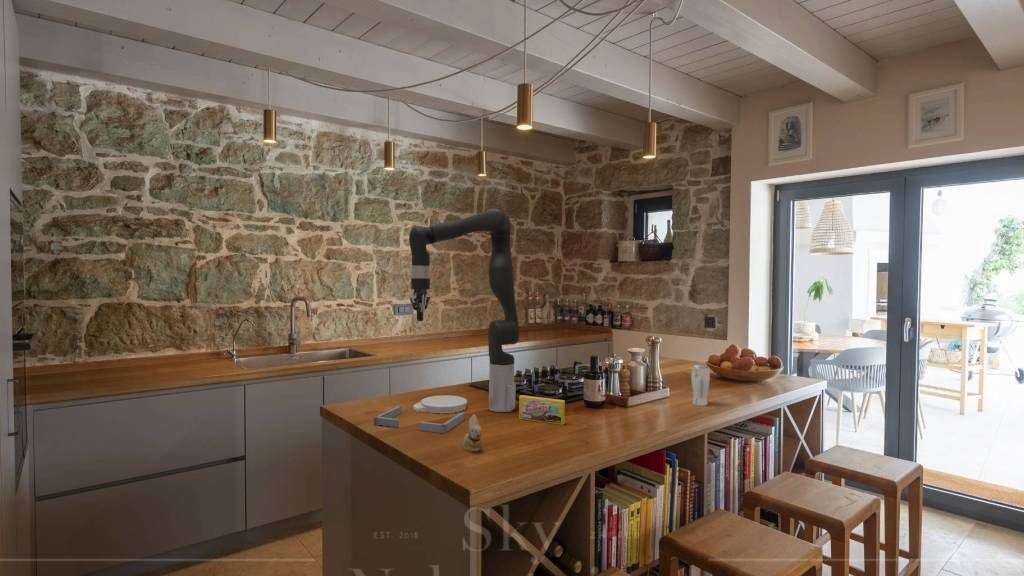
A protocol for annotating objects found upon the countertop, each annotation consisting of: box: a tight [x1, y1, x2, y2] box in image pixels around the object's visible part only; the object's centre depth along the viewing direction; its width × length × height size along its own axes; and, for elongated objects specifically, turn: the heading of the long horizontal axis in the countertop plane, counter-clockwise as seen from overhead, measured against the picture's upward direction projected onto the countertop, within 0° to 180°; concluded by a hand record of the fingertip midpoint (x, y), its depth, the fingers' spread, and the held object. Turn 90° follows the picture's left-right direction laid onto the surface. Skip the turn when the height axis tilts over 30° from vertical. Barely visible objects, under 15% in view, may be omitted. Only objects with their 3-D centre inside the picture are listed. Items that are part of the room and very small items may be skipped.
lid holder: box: [373, 405, 465, 434], centre depth 180 cm, size 25×16×2 cm, turn 72°
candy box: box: [518, 394, 566, 425], centre depth 184 cm, size 16×2×8 cm, turn 68°
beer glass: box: [690, 364, 711, 407], centre depth 212 cm, size 7×7×15 cm
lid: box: [412, 394, 468, 415], centre depth 199 cm, size 17×20×3 cm
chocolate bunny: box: [462, 414, 482, 453], centre depth 155 cm, size 6×8×10 cm
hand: (420, 320), depth 212 cm, fingers closed
